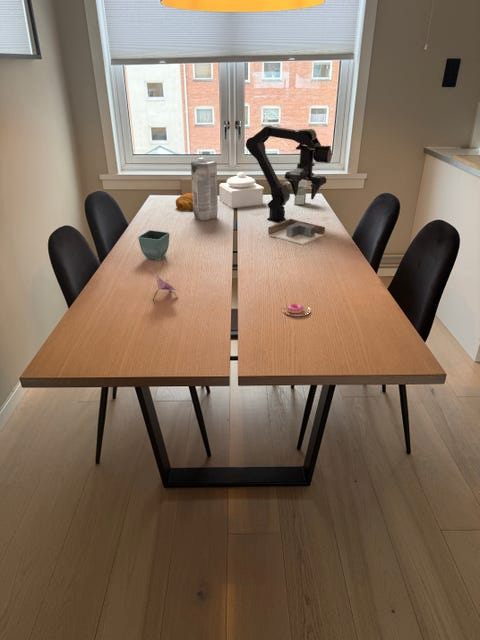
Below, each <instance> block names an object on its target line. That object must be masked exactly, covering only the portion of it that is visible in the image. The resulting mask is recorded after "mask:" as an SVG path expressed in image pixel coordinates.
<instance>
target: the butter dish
mask: <svg viewBox="0 0 480 640" xmlns="http://www.w3.org/2000/svg"><path fill="white" fill-rule="evenodd" d="M218 187H219V188H218V190H219V196H218V197H219V201H221V202H222V201H223V202H224V204H225V205H226V204H227V206H228V207H229V206H230V207H229V208H230V209H235V208H236V209H237V208H245V206H246V207H254V205H255V206H262V205H263V204H264V202H263V201H264V200H263V199H264V198H263V197H264V190H265V187H263V186H262V185H260V184H257V183H256V180H255V179H254V178H253V177H251V176H248V175H247V174H246V173H245V172H243V171H240V172H238V173H237V174H236V175H235V176H232V177H229V178H228V179H227V180H226V182H223V183H222V182H221V183H220V184H218ZM223 202H222V203H223Z"/></svg>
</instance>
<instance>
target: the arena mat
mask: <svg viewBox="0 0 480 640" xmlns="http://www.w3.org/2000/svg"><path fill="white" fill-rule="evenodd" d="M286 230H287V228H286V229H283V230H281V231H278V232H276V233H273V234H271V235H270V234H267V235H268V236H269V237H272V238H275V239H276V238H277V239H279V240H282V241H288V242H290V243H294V244H297V245H300V246H304V245H306V244H308V243H310V242H313V241H316V240H318V239H319V238H322V237H324V236H325V234H323V235H322V234H318V233H315V236H313V237H311V238H310V237H306V236H303V235H297V236H294V237H289V236H286Z"/></svg>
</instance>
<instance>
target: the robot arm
mask: <svg viewBox="0 0 480 640" xmlns="http://www.w3.org/2000/svg"><path fill="white" fill-rule="evenodd" d="M270 137H272V138H279V139H285V140H291V141H294V142H296V143H297V144H298V146H296V147H295V150H296V151H297V150H298V151H299V150H300V152H299V163H297V165H296V168H295V169H293V170H290V171H286V172H285V173H284V179H285V180H286V181H287V182H289V183H290V186H291V188H292V192H293V195H294V196H296V195H297V192H298V186H299V182H300V181H301V180H302V179H303V180H307V182H310V183H311V184H310V187H311V192H310V193H311V194H310V199H311V200H314V198H315V196H316V195H317V193H318V191H319V189H320V188H321V186H323V185H325V184H327V177H326V176H324V175H315V172H313V167H315V166H316V165H315V162H316V163H323V164H330V163H331V161H332V157H333V153H332V146H331V145H322V144H321V143H320V140H319V139H318V137H317V133H316V131H315V129H314V128H303V129H292V128H286V127H285V128H284V127H279V126H272V125H266V126H264V127H263V128H262V129H261V130H260V131H259V132H257V133H256V134H254V135H253V136H252V137H249V138H247V140H246V142H245V148H246V149H247V151H248V152H249V153H250V154H251V156H252V157H254V159H256V162H257V163H258V166H259V168H260V169H261V172H262V173H263V175H264V178H265V179H266V181H267V183H268V185H269V188H270V195H271V198H272V199H271V200H270V201H269V202H267V207H268V209H269V212H268V213H269V214H268V215H269V216H268V217H267V219H266V220H269V221H272V222H275V223H281V222H283V221H286V220H287V218H286V217H285V213H286V211H285V205H286V204H287V202H289V200H290V198H291V194H290V193H291V191H289V189H288V186H287V184H282V183H281V182H280V179H279V178H278V176H277V174H276V172H275V170H274V168H273V165H272V164H271V162H270V160H269V157H268V155H267V152H266V145H265V142H266V141H268V139H269V138H270Z"/></svg>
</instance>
